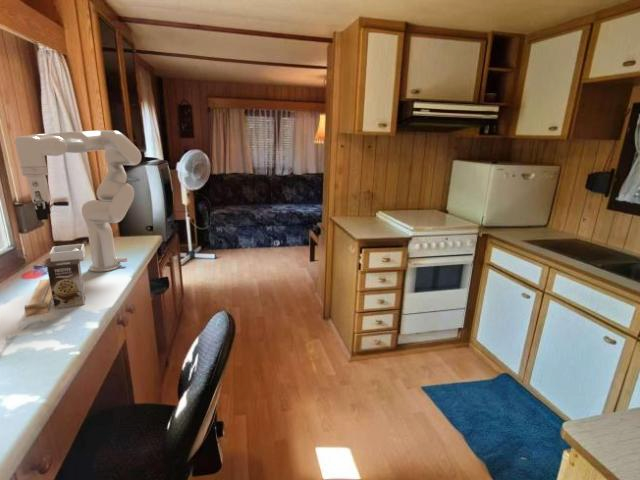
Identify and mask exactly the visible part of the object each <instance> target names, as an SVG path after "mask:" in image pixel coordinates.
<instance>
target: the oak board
mask: <svg viewBox="0 0 640 480" xmlns="http://www.w3.org/2000/svg"><path fill="white" fill-rule="evenodd" d="M52 303H53V297H52V292H51V286H50V281H49V278H47V279H46V278H45V279H41V280H39V283H38V284H37V287H36V289H35V290H34V293H33V295H32V296H31V299H30V301H29V302H28V304H27V305H24V307H23V308H24V311H25V316H26V318H29V317H33V316H39V315H44V314H45V315H46V314H49V312H50V310H51V307H52Z"/></svg>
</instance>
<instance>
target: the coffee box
mask: <svg viewBox="0 0 640 480" xmlns="http://www.w3.org/2000/svg"><path fill="white" fill-rule="evenodd" d="M46 268H47V275H48V279H49V281H50V286H51V292H52V297H53V301H52V303H53V309H55V310H58V309H63V308H64V309H65V308H70V307H71V308H72V307H77V306H83V305H85V302H86V298H87V297H86V294H85V286H84V281H83V276H82V275H83V274H82V267H81V260H80V259H74V260H64V261H54V262H51V261H49V263H48V264H47V266H46Z"/></svg>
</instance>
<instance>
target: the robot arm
mask: <svg viewBox="0 0 640 480" xmlns="http://www.w3.org/2000/svg"><path fill="white" fill-rule="evenodd" d="M14 144H15V145H14V146H15V150H16V153H17V157H18V163H19V167H20V170H21V176H22V177H26V181H27V185H28V189H29V194H30V199H31V201H32V203H33V204H34V207H35V214H36V219H37V221H43V220H45V221H46V220H49V215H50V214H51V207H50V203H49V202H50V201H51V199H52V197H51V192H50V187H49V185H48V180H47V177H46V176H48V175H49V172H48V168H47V167H48V166H47V162H46V158H45V156H47V157H48V156H51V157H53V156H54V157H59V156H62V155H64V154H65V153H71V154H73V153H75V154H76V153H77V154H78V153H79V154H81V153H82V154H83V153H89V152H98V151H104V152H103V153H104V160H105V163H106V166H107V170H106V171H107V172H106V174H105V175H104V178H103V179H102V181H101V183H100V184H99V186H98V188H97V190H96V196H97V198H98V199H92V200H87V201H86V202H84V204H82V207H81V215H82V218H83V220H84V222H85V225H86V229H87V235H88V241H89V247H90V248H89V249H90V256H91V261H92V264H91V265H89V266H88V268H89V271H92V272H95V273H102V272H108V271H113V270H116V269H118V268H120V267H121V263H127V262H128V257H124V256H123V257H119V256H117V254H116V249H115V247H116V246H115V241H114V234H113V228H112V226H111V224H116V223H120V222H121V221H123V219H124V218H125V217H126V214H127V212H128V210H129V209H130V207H131V206H132V203H133V201H134V199H135V189H134V187H133V186H132V185H131V184H129V183H127V179H128V175H127V172H126V171H125V168H124V166H137V165H139V164H140V163H141V161H142V153H141V151H140V149H138V147H137V146H136V145H135V144H134V143H133V142H132V141H131V140H130V139H129V138H128V137H127V136H126V135H125V134H124V133H122V132H120V131H119V130H108V129H107V130H106V129H97V130H81V131H67V132H66V131H65V132H54V133H50V132H49V133H38V134H37V133H35V134H30V135H19V136H16V137H14Z"/></svg>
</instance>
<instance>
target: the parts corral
mask: <svg viewBox="0 0 640 480" xmlns="http://www.w3.org/2000/svg"><path fill="white" fill-rule="evenodd" d="M73 248H78V249H79V250H76V251H71V250H72V249H73ZM85 255H86V249H85V244H84V243H77V244H66V245H65V244H64V245H58V246H56V245H55V246H52V248H51V250H50V251H49V258H50V262H54V261H64V260H74V259H80V261H84V260H85Z"/></svg>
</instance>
